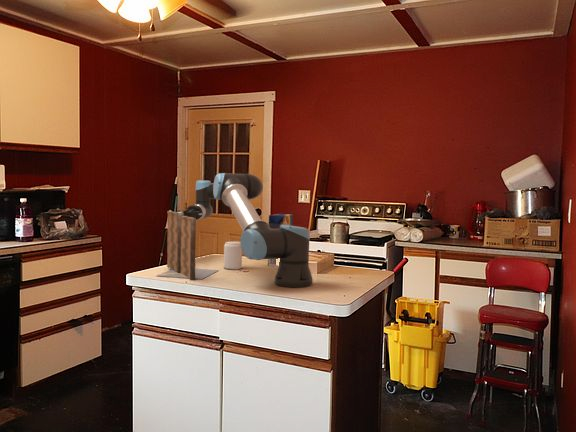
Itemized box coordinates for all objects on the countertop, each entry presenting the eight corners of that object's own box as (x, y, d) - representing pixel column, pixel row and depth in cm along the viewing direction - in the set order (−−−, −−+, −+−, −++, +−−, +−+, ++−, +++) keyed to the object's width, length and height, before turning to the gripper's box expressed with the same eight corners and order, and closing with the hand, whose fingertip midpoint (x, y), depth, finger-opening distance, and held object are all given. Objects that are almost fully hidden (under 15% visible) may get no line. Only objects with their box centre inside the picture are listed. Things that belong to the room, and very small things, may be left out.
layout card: (218, 270, 230) (218, 269, 230) (202, 279, 211) (202, 278, 211) (176, 268, 234) (176, 267, 234) (156, 276, 215) (156, 275, 215)
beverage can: (220, 268, 238) (220, 242, 237) (234, 266, 243) (235, 240, 242) (230, 270, 232) (231, 244, 231) (245, 268, 237) (245, 242, 236)
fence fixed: (176, 273, 222) (176, 212, 220) (181, 273, 223) (182, 212, 221) (190, 280, 209) (191, 215, 207) (196, 279, 210) (197, 215, 208)
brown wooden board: (180, 271, 223) (180, 213, 221) (177, 271, 222) (177, 213, 220) (169, 266, 233) (170, 211, 231) (166, 266, 233) (167, 211, 231)
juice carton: (282, 267, 244) (283, 216, 242) (267, 265, 247) (268, 215, 245) (291, 263, 255) (292, 214, 254) (277, 261, 258) (278, 213, 256)
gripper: (207, 220, 256) (189, 225, 233) (183, 219, 259) (162, 223, 236) (208, 205, 256) (189, 208, 233) (183, 204, 258) (162, 207, 235)
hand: (175, 216), depth 234 cm, fingers closed
